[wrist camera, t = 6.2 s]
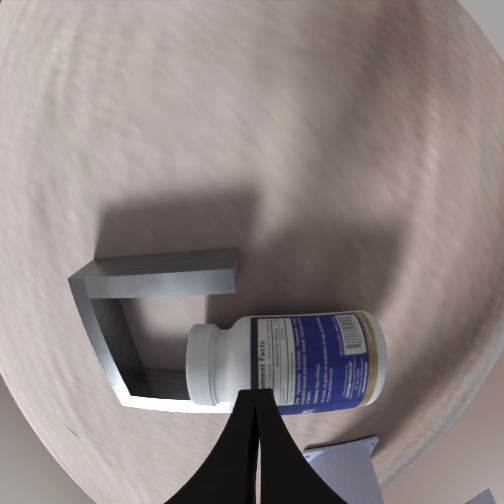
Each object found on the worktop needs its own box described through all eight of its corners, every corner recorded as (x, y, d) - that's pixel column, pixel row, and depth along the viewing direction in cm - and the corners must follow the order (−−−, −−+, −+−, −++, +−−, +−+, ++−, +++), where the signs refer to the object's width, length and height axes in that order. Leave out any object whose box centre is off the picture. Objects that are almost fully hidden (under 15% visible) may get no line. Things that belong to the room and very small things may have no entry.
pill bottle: (351, 389, 16) (205, 394, 17) (353, 308, 17) (203, 312, 18) (385, 419, 11) (184, 429, 11) (392, 310, 12) (178, 316, 12)
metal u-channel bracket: (252, 380, 18) (252, 412, 15) (134, 378, 18) (122, 405, 16) (236, 247, 15) (233, 268, 12) (93, 259, 15) (67, 278, 12)
